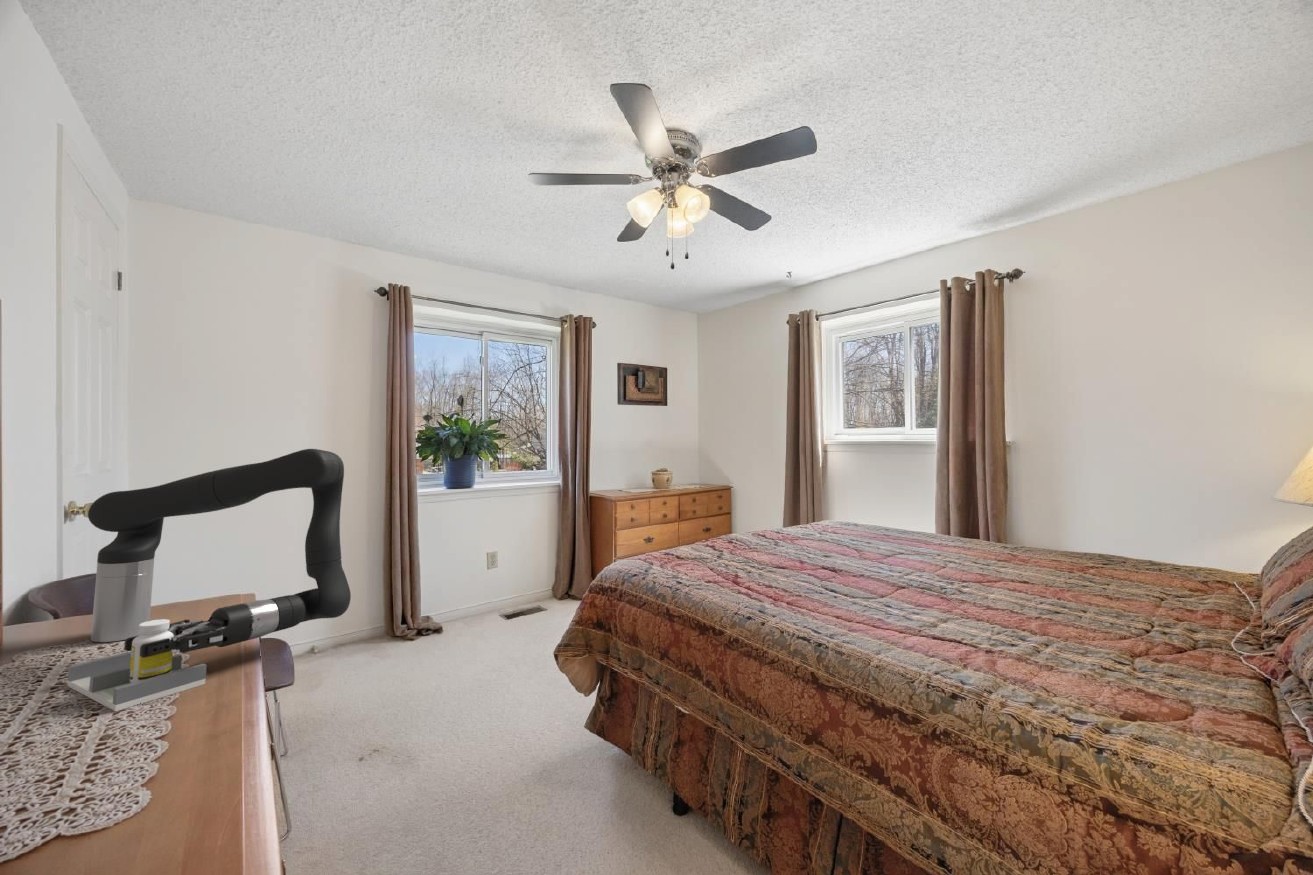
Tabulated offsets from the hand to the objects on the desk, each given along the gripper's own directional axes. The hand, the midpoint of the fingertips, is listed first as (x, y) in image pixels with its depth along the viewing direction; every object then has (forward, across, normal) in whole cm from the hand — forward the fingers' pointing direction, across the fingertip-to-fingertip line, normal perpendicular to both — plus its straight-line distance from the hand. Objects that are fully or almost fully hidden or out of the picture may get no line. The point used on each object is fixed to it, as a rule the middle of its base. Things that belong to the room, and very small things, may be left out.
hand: (133, 648), depth 90 cm
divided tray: (-2, -5, +8) cm, 10 cm away
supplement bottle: (-3, 0, +6) cm, 7 cm away
